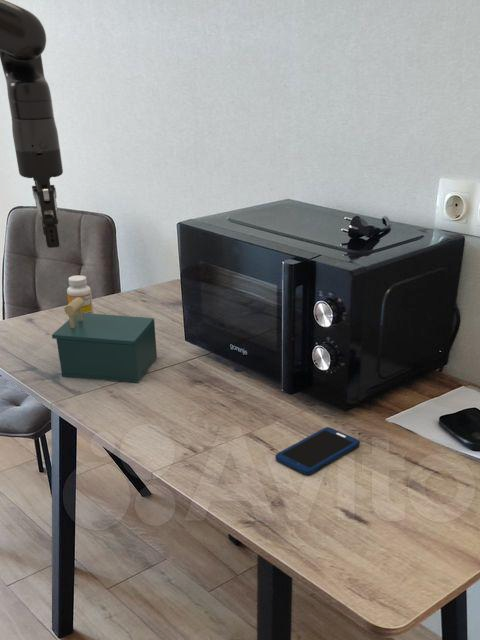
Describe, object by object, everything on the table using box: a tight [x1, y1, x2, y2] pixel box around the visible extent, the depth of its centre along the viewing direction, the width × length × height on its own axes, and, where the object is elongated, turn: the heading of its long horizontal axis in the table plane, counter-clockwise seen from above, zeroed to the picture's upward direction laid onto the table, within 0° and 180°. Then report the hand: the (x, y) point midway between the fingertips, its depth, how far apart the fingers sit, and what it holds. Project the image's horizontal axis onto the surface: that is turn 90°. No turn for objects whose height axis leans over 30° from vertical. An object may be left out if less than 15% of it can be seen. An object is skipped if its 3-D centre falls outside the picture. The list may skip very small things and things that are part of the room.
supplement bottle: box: [66, 274, 95, 316], centre depth 163 cm, size 5×5×10 cm
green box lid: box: [51, 297, 155, 345], centre depth 137 cm, size 16×13×5 cm
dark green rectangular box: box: [55, 322, 158, 384], centre depth 141 cm, size 16×13×8 cm
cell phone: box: [274, 426, 361, 475], centre depth 115 cm, size 7×14×1 cm, turn 137°
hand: (51, 241), depth 131 cm, fingers open, 8 cm apart
